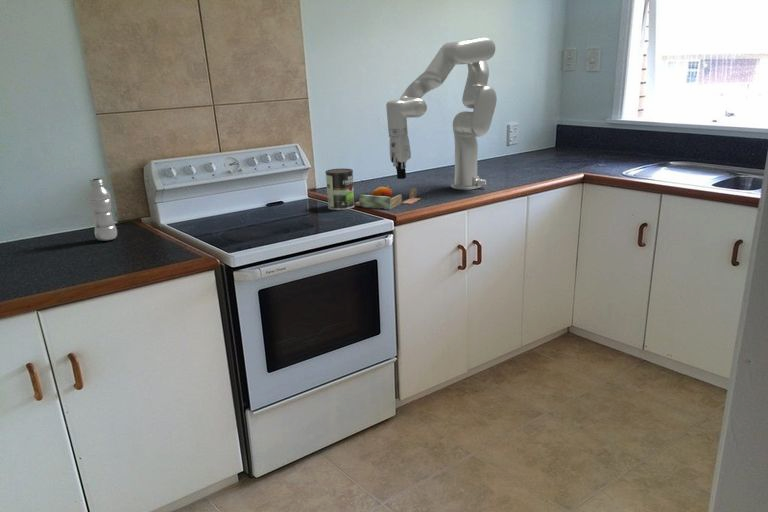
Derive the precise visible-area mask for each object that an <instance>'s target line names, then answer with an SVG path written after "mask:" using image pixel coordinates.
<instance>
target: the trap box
mask: <svg viewBox="0 0 768 512" xmlns="http://www.w3.org/2000/svg"><path fill="white" fill-rule="evenodd" d="M385 187H387V188H389V189H391V185H387V186H385ZM391 190H392V189H391ZM408 192H409V195H408V196H409V198H408V199H410V198H417V196H418V187H412V188H411V189H409V191H408ZM358 199H359V201H360V205H359V207H360V206H364V207H363V208H369V207H373V208H372V209H380V208H384V209H383V210H392V209H393V208H395V207H397V206H400V205H402V202H403V201H402V200H403V198H402V194H397V195H395V196H392V198H391V197H385V196H372V195H371V194H359V197H358Z"/></svg>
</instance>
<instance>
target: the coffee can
mask: <svg viewBox="0 0 768 512" xmlns="http://www.w3.org/2000/svg"><path fill="white" fill-rule="evenodd" d="M353 174H354V170H353V169H352V168H330V169H326V171H325V179H326V180H325V181H326V196H327V208H328V209H329V210H332V211H344V210H345V211H346V210H351V209H353V208H355V194H354V191H355V190H354V176H353Z"/></svg>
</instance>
